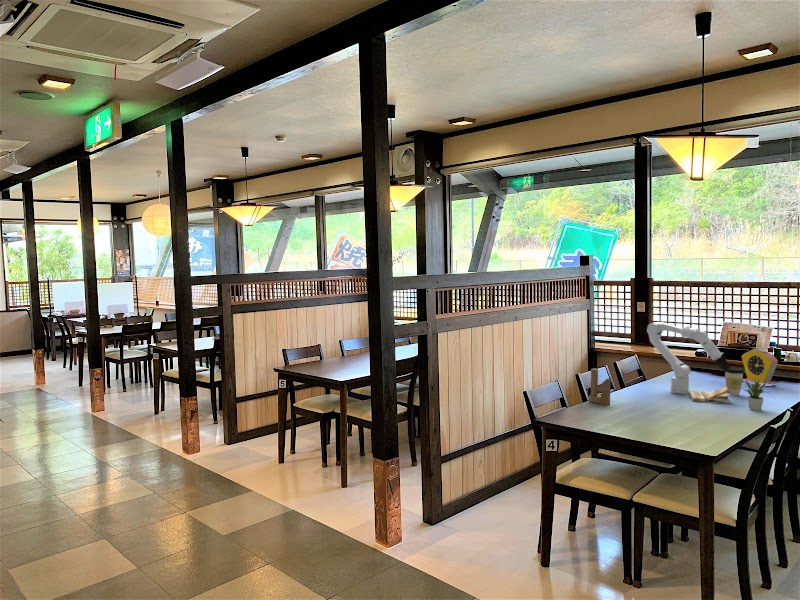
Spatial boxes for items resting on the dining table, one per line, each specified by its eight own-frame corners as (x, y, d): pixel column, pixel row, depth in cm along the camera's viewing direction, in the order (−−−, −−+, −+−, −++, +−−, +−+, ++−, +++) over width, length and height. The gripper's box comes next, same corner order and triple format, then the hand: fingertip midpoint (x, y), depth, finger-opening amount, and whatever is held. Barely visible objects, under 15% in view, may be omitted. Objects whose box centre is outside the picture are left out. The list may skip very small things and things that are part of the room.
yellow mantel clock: (737, 381, 378) (738, 347, 377) (749, 380, 381) (750, 346, 380) (768, 388, 357) (769, 352, 356) (780, 387, 360) (781, 351, 359)
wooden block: (606, 405, 316) (607, 371, 315) (588, 401, 325) (589, 368, 323) (610, 404, 319) (611, 370, 317) (592, 400, 327) (593, 368, 326)
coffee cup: (741, 397, 333) (742, 370, 332) (722, 395, 339) (722, 368, 338) (744, 394, 341) (745, 368, 340) (725, 392, 347) (725, 366, 346)
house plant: (778, 414, 297) (779, 381, 296) (747, 412, 300) (748, 380, 299) (766, 407, 311) (767, 376, 310) (737, 406, 314) (738, 375, 313)
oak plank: (707, 400, 323) (706, 398, 323) (705, 397, 331) (703, 395, 332) (729, 392, 319) (728, 389, 319) (726, 388, 328) (725, 386, 328)
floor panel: (693, 401, 325) (693, 397, 325) (688, 393, 343) (688, 390, 343) (732, 404, 318) (732, 400, 318) (725, 396, 337) (726, 392, 337)
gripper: (718, 343, 327) (735, 364, 322) (716, 347, 340) (732, 367, 335) (707, 350, 329) (723, 371, 323) (705, 353, 341) (721, 374, 336)
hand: (727, 370), depth 329 cm, fingers open, 7 cm apart
